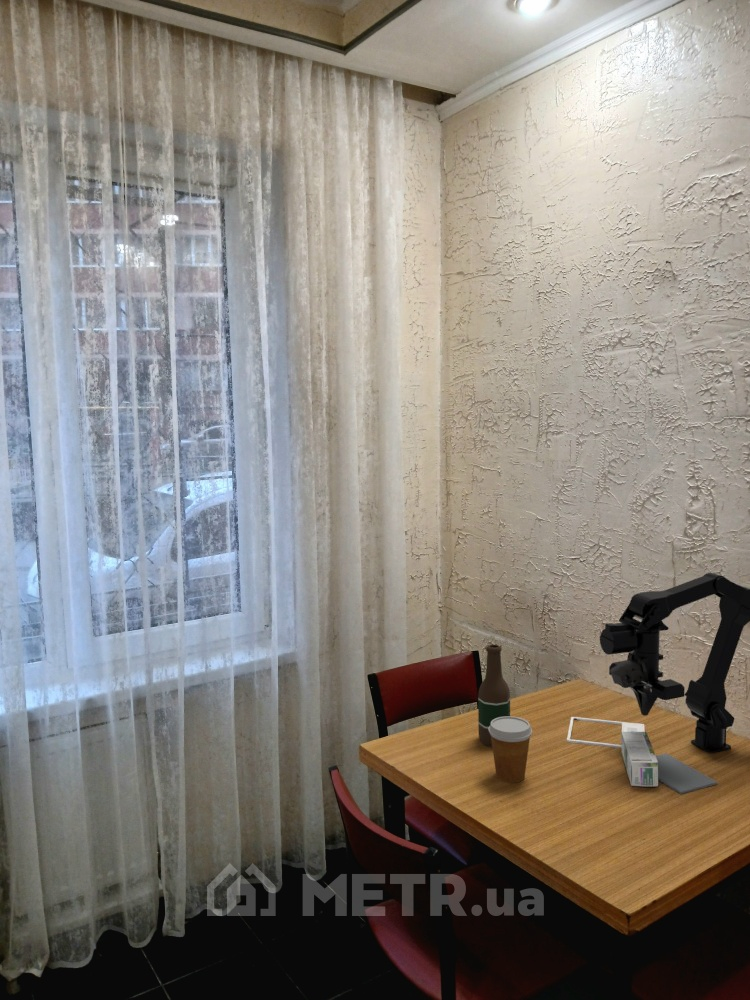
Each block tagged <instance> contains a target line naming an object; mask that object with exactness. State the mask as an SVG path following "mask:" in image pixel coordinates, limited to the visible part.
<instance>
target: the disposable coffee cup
mask: <svg viewBox="0 0 750 1000" xmlns="http://www.w3.org/2000/svg"><path fill="white" fill-rule="evenodd" d="M488 729H489V732H490V735H491V740H492V746H491V747H492V753H493V761H494V770H495V776H496V778H497V779H499V780H500V781H503V782H505V783H518V782H521V781H523V780H524V779H525V777H526V771H527V770H526V769H527V761H528V754H529V746H530V741H531V739H530V738H531V736H532V734H533V729H532V727H531V725H530V722H529V721H528V720H527V719H525V718H523V717H522V718H521V717H518V716H512V715H510V716H504V717H498V718H495V719H493V720H492V721H491V724H490V726H489V728H488Z"/></svg>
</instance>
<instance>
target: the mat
mask: <svg viewBox="0 0 750 1000" xmlns="http://www.w3.org/2000/svg"><path fill="white" fill-rule="evenodd" d="M655 756H656V758H657V761H658V782H661V783H662V784H664V785H665V786H667V787H669V788H670V789H672V790H674V791H675V792H677V793H678V794H680V795H682V794H687V793H691V792H694V791H698V790H702V789H704V788H709V787H712V786H716V785H718V781H716V780H715V779H713V778H711V777H709V776H707V775H706V774H704V773H702V772H700V771H698V770H696V769H695V768H693V767H692V766H690V765H688V764H686V763H684V762H683V761H681V760H679V759H677V758H676V757H674V756H673V755H670V754H668V753H667V752H665V753H662V754H657V755H655Z"/></svg>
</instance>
